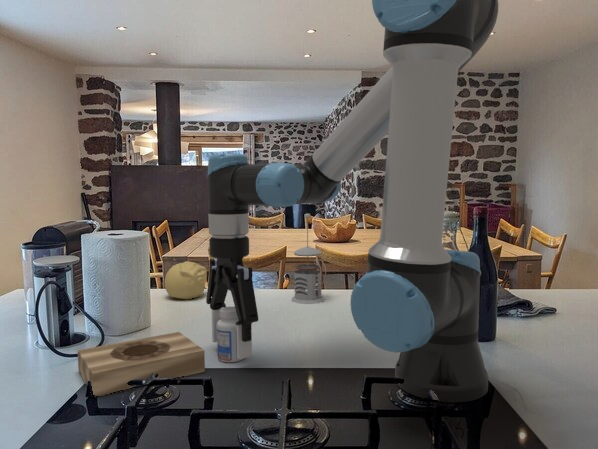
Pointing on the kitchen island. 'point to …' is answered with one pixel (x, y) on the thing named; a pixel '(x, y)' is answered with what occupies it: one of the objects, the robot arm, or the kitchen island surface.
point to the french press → (308, 276)
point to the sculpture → (185, 280)
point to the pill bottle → (227, 335)
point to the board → (139, 361)
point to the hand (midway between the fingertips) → (231, 348)
